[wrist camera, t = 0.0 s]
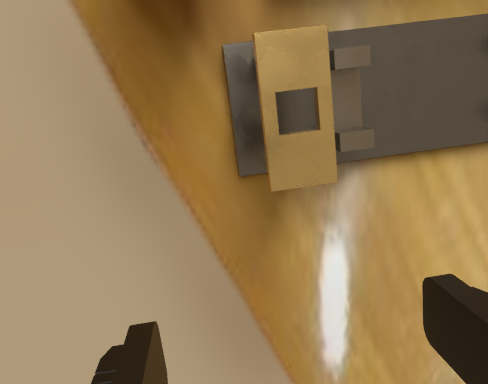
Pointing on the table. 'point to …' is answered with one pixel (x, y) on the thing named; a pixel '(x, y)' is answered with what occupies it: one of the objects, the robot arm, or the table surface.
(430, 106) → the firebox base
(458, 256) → the table surface
